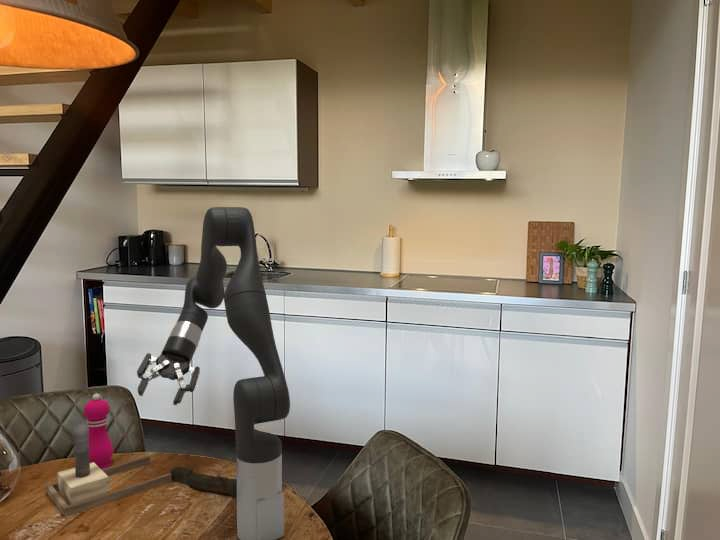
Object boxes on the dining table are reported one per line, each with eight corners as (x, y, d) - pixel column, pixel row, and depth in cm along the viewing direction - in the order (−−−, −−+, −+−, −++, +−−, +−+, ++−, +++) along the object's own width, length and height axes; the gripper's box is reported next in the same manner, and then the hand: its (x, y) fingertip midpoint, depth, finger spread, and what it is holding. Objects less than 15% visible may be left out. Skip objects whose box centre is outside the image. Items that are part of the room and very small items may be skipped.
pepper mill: (119, 463, 151) (117, 389, 149) (104, 476, 144) (101, 399, 141) (93, 462, 152) (90, 388, 149) (77, 474, 144) (74, 397, 142)
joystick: (110, 497, 131) (108, 425, 129) (71, 510, 126) (68, 435, 124) (95, 481, 138) (92, 413, 137) (58, 492, 133) (54, 422, 131)
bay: (171, 486, 139) (171, 474, 139) (65, 522, 123) (64, 509, 123) (148, 466, 149) (148, 455, 149) (46, 497, 133) (46, 485, 133)
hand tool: (243, 492, 137) (243, 473, 137) (234, 500, 133) (234, 481, 133) (176, 479, 143) (176, 461, 143) (166, 486, 140) (165, 468, 139)
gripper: (154, 328, 145) (126, 385, 135) (209, 343, 146) (186, 400, 136) (156, 342, 151) (130, 398, 141) (209, 356, 152) (186, 413, 142)
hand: (157, 399), depth 138 cm, fingers open, 8 cm apart
